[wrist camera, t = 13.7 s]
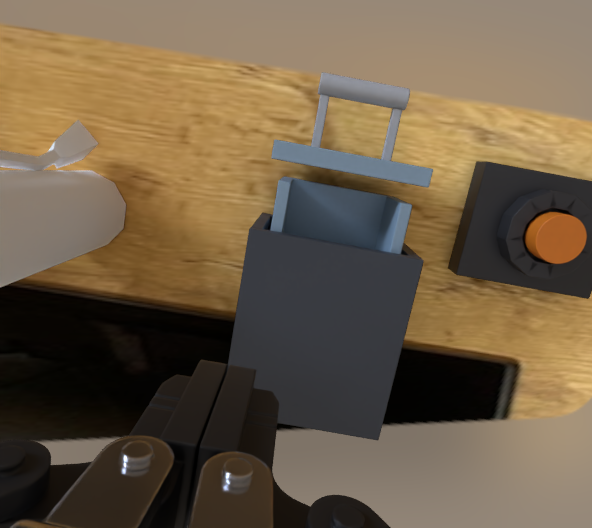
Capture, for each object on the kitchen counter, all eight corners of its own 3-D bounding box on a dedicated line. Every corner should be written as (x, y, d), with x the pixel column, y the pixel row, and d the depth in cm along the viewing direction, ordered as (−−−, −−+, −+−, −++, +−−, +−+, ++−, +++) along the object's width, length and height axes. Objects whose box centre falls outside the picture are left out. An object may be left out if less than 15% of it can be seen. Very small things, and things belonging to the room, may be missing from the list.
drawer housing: (262, 212, 38) (249, 228, 30) (398, 237, 38) (424, 260, 30) (237, 360, 41) (220, 413, 33) (363, 383, 41) (378, 440, 33)
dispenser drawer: (291, 76, 35) (287, 58, 28) (425, 102, 35) (452, 89, 28) (255, 292, 39) (244, 320, 32) (375, 314, 39) (389, 346, 32)
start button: (518, 254, 35) (529, 259, 33) (532, 207, 34) (544, 210, 32) (564, 262, 35) (577, 268, 33) (579, 216, 34) (594, 219, 32)
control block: (447, 268, 39) (463, 280, 35) (476, 161, 37) (496, 161, 33) (573, 291, 39) (603, 306, 35) (609, 186, 37) (644, 189, 33)
